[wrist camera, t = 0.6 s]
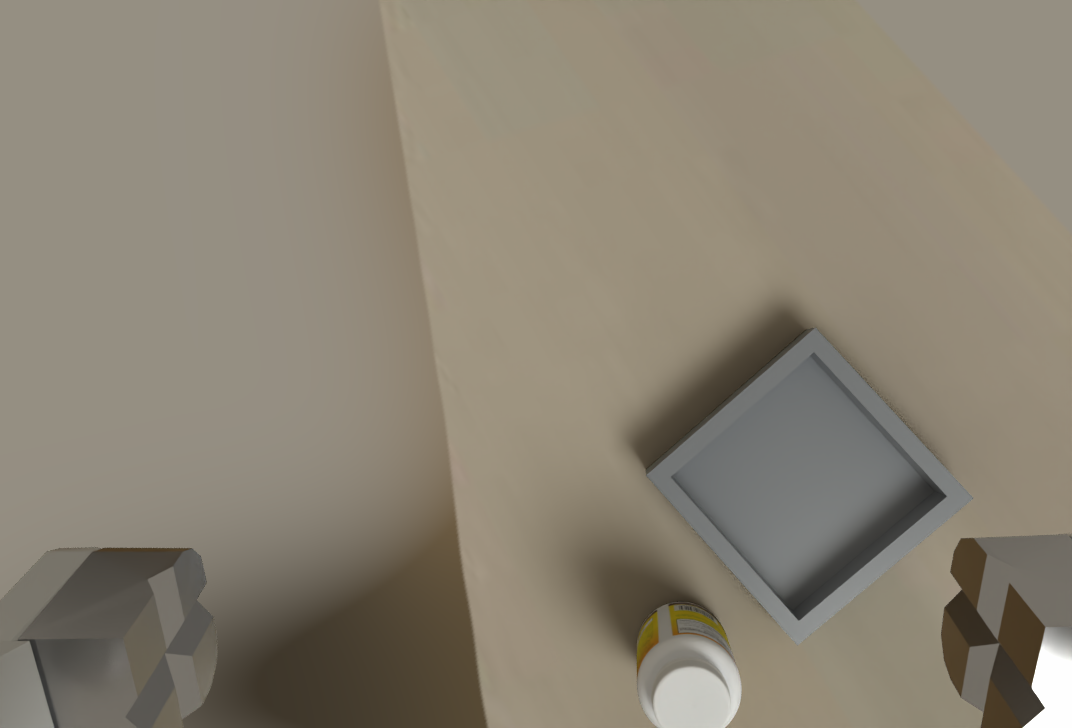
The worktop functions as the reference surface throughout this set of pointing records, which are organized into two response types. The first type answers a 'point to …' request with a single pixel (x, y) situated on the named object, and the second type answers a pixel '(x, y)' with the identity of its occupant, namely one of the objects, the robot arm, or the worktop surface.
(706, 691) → the supplement bottle
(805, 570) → the tray
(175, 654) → the robot arm
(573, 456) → the worktop surface
